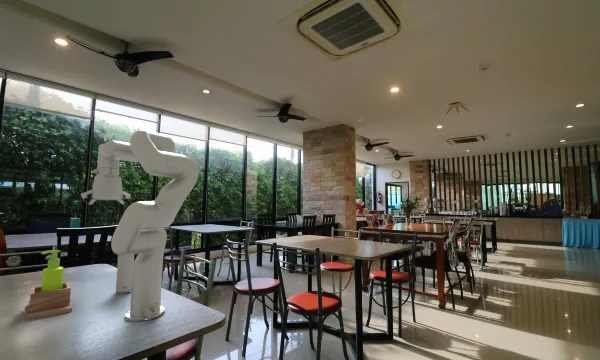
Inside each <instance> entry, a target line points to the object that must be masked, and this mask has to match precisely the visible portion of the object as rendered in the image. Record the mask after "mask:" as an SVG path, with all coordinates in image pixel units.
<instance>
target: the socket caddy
mask: <svg viewBox="0 0 600 360" xmlns="http://www.w3.org/2000/svg"><path fill="white" fill-rule="evenodd" d="M41 290H42V285H38V286H32V287H30V297H29V298H30V299H29V300H28V303H27V308H26V309H27V310H26V318H25V321H26V322H28V321H32V320H33V321H34V320H36V319H37V320H38V319H42V318H48V317H51V316H52V317H53V316H57V315H62V314H67V313H72V312H73V305H72V302H71V291H72V288H71V285H70V282H68V281H67V282H62V289H58V290H52V291H45V292H41Z"/></svg>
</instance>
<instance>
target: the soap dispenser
mask: <svg viewBox="0 0 600 360" xmlns="http://www.w3.org/2000/svg"><path fill="white" fill-rule="evenodd" d="M59 253H61V250H59V249H51V250H45V251H43V252H40V254H41V255H47V254H51V258H50V259H47V267H46V268H43V270H42V278H41V286H42V290H41V292H45V291H52V290H58V289H62V283H64V281H63V279H64V267H63V266H60V263H61V262H60V261H61V258H59V257H58V254H59Z"/></svg>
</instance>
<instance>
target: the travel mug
mask: <svg viewBox="0 0 600 360" xmlns="http://www.w3.org/2000/svg"><path fill="white" fill-rule="evenodd" d="M134 261H135V254H132V255H125V256H121V255H117V264H116V265H117V269H116V280H115V281H116V282H115V294H116V295H126V294H125V293H127V294H129V293H128V292H130V291H131V287H132V270H133V264H134ZM130 293H131V292H130Z"/></svg>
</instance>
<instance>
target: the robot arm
mask: <svg viewBox="0 0 600 360" xmlns="http://www.w3.org/2000/svg"><path fill="white" fill-rule="evenodd" d="M175 150H176V145H175V142H174V140H173V139H172V138H171V137H170V136H168V135H166V134H162V133H159V132H154V131H150V130H146V129H139V130H136V131H134V133H133V134H132V135H131V136H130V139H129V142H123V141H118V140H113V139H111V140H109V141H107V142H105V143H101V144H99V146H98V151H97V153H98V154H97V168H96V169H93V170H92V173H93V174H96V175H95V176H94V179H93V183H92V189H90V190H87V191H85V192H82V193H81V194H80V196H81V198H82V199H83V201H84V202H85V203H87V204H88V211H87V213H89V215H90V216H91V215H92V216H93V215H94V214H95V212H94V211H95V204H94V203H95V202H96V201H117V202H118V204H117V214H118V215H121V214H122V212H123V214H122V217H121V218H120V221H119V222H118V225H117V226H116V227H115V230H114V232H113V235H112V238H111V244H110V245H111V250H112V252H113V253H114V254H116V255H117V256H118V255H121V256H125V255H132V254H134V255H136V258H134V264H133V270H132V287H131V292H130V307H129V310H128V311H126V312H125V314H124V320H126V321H128V320H129V322H140V321H139V320H145V319H150V318H153V317H156V316H158V315H160V314H162V313H163V312H164V311H165V312H166V307H165V306H163V305H161V303H162V302H161V300H162V281H163V280H162V279H163V262H164V261H163V259H164V253H165V248H166V244H167V240H168V239H167V238H168V235H167V234H168V233H167V231H166V229H165V228H168V227H169V226H170V225H172V224H173V222H174V220H175V218H176V216H177V215H178V213H179V211H180V209H181V208H182V205H183V204H184V201H185V200H186V199H187V197H188V196H189V194H190V193H191V192H192V190H193V188H194V187H195V186H196V184H197V181H198V176H199V167H198V164H197V162H196V161H195V160H194V159H193V158H191V157H189V156H187V155H184V154H180V153H175ZM120 161H124V162H126V161H127V162H132V163H139V164H140V165H141V168H142V169H143V170H144V172H146V174H149V175H151V176H153V177H154V176H155V177H163V178H164V177H165V178H173V179H172V180H169V182H168V183H166V184H165V185H164V186H162V188H161V189H160V190H159V192H158V195H157V196H156V198H155V199H154V200H151V201H150V200H148V201H147V200H145V201H142V200H141V201H135V202H133V203H131V204H130V205H129V206H128V207H127V208H126V209H125V210H124V205H125V203H127V202H128V201H129V200H130V198H131V196H132V194H131V193H128V192H126V191H124V190H123V180H122V176H119V175H120ZM88 195H91V199H89V198H88ZM123 195H124V197H125V198H124V199H123ZM165 312H164V313H165ZM164 313H163V314H164ZM163 314H162V315H163ZM150 320H151V319H150ZM145 321H146V320H145Z"/></svg>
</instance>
